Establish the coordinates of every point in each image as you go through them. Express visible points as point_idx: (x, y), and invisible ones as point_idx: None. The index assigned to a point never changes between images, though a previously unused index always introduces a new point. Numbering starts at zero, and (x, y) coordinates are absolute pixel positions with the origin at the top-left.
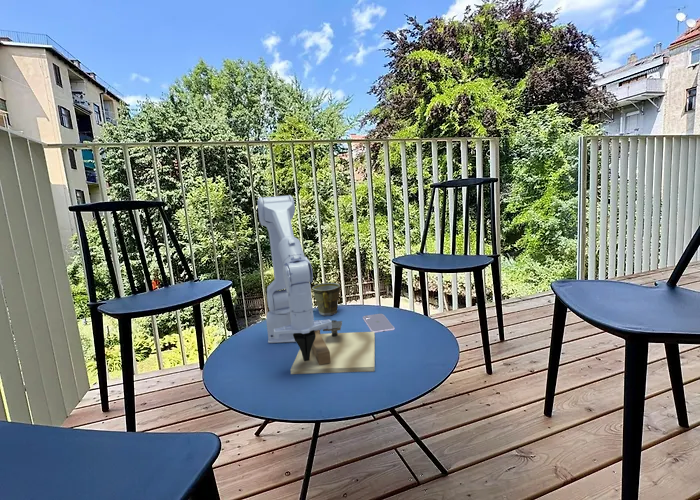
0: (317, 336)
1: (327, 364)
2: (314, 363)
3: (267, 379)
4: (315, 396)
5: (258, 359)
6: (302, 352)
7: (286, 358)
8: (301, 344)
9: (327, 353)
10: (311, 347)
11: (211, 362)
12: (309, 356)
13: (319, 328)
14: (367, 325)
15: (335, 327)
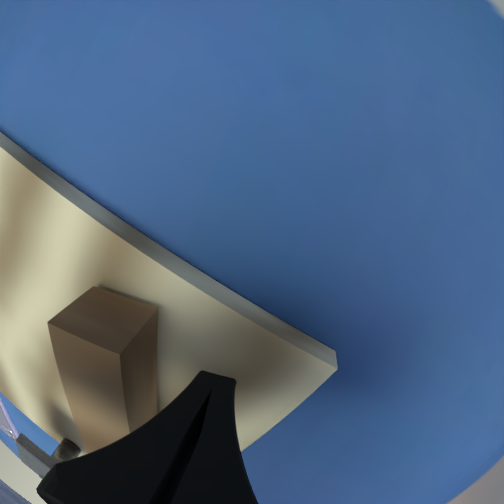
0: None
1: (114, 285)
2: (179, 346)
3: (445, 362)
4: (310, 19)
5: (369, 486)
6: (232, 429)
7: (281, 460)
8: (220, 493)
9: (66, 321)
10: (141, 426)
11: (459, 493)
12: (190, 385)
13: (9, 500)
14: (6, 411)
15: (32, 455)
